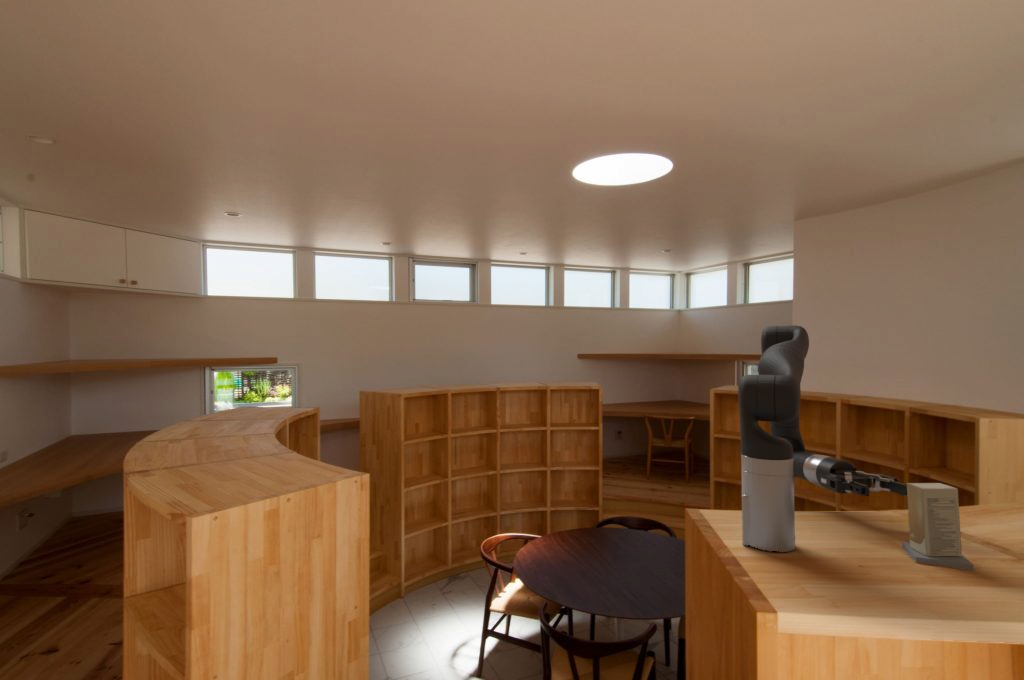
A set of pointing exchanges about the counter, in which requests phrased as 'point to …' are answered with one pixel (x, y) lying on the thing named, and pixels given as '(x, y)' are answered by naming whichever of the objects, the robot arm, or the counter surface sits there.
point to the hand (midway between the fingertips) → (887, 491)
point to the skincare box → (934, 519)
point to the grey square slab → (939, 559)
